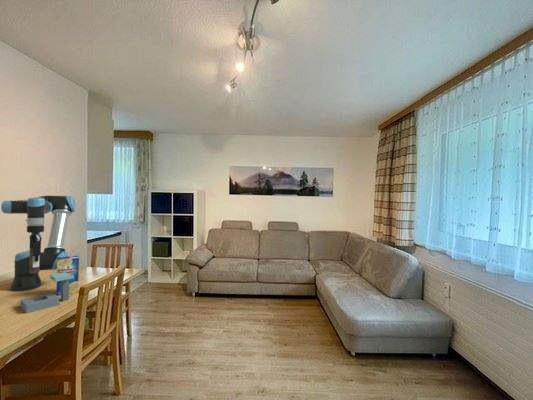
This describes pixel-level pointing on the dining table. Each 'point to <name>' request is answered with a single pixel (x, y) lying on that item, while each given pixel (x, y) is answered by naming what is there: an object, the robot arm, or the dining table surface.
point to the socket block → (39, 302)
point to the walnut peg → (31, 269)
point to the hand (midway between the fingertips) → (34, 266)
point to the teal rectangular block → (62, 284)
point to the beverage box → (70, 267)
